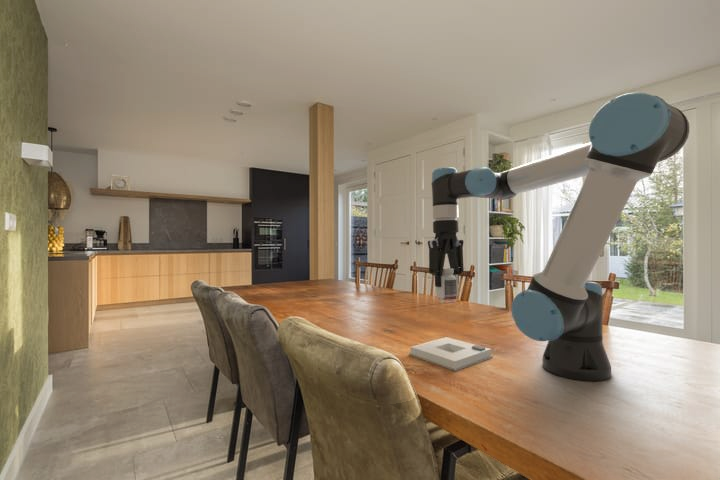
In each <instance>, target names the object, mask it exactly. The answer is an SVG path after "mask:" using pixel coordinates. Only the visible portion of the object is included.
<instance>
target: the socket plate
mask: <svg viewBox="0 0 720 480" xmlns="http://www.w3.org/2000/svg"><path fill="white" fill-rule="evenodd" d="M408 355H409V356H411V357H414V358H416V359H420V360H422V361H425V362H428V363H431V364H434V365H437V366H439V367H442V368H445V369H449V370H451V371H454V372H456V371H460V370H463V369H465V368H468V367H470V366H474V365H476V364H478V363H481V362H484V361H487V360H489V359H492V358H493V355H492V348H489V347H485V346H481V345H479V344H473V343H470V342H466V341H462V340H459V339H456V338H451V337H448V336H445V337H442V338H437V339H433V340H430V341H427V342H424V343H423V342H422V343H419V344H416V345H413V346H412V345H411V346H410V353H409V354H408Z"/></svg>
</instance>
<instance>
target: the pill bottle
mask: <svg viewBox="0 0 720 480" xmlns="http://www.w3.org/2000/svg"><path fill="white" fill-rule="evenodd" d="M453 272H454V270H453V268H450V267H448V268H446V267H445V268H444V267H443V273H442V276H444V280H445V298H437V299H438V302H441V303H442V302H443V303H453V302H457V297H458V296H456V277H455V276H453Z"/></svg>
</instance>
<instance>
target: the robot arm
mask: <svg viewBox="0 0 720 480" xmlns="http://www.w3.org/2000/svg"><path fill="white" fill-rule="evenodd" d="M588 127H589V129H588V137H589V141H590V142H588V143H587V142H586V143H584V144H581V145H578V146H576V147H572V148H570V149H566V150H563V151H560V152H558V153H555V154H554V153H553V154H552V155H548V156H546V157H543V158H539V159H537V160H534V161H531V162H527V163H524V164H522V165H519V166H517V167H516V166H515V167H513V168H510V169H507V170H505V171H502V172H494V171H493V170H492V169H491V168H490V167H485V166H483V167H475V168H473V169H469V170H464V171H459V172H458V170H457V168H455V167H452V166H451V167H440V168H436V169H434V170H433V171H432V175H431V192H432V195H431V196H432V219H433V220H434V221H433V222H432V229H433V230H432V232H433V233H434V234H435V235H434V239H432V240H428V241H427V246H428V262H429V263H428V273H429V274H430V275H431V276H434V286H435V291H436V293H435V297H436V298H437V299H438V298H445V280H444V276H442V273H443V268H444V267H445V261H446V260H445V259H446V255H447V260H448V263H449V268H453V270H454V272H453V276H455V277H456V297H459V284H460V281H459V280H460V278H459V277H460V275H462V274H463V272H464V270H465V267H464V251H463V250H464V249H463V248H464V240H463V239H459V238H458V237H457V234H458V233H459V228H460V226H459V221H458V220H457V219H459V199H465V198H484V199H493V200H500V201H501V200H503V201H504V200H510V199H514V198H515V197H516V196H517V195H520V194H522V193H526V192H530V191H531V192H532V191H534V190H538V189H542V188H544V187H549V186H552V185H557V184H560V183H565V182H567V181H571V180H575V179H579V178H582V177H585V179H584V182H583V183H582V185H581V188H580V191H579V193H578V194H577V196H576V199H575V201H574V203H573V206H572V207H571V210H570V212H569V214H568V216H567V219H566V220H565V223H564V224H563V227H562V229H561V232H560V234H559V235H558V238H557V241H556V243H555V245H554V247H553V249H552V251H551V252H550V253H551V254H550V256H549V258H548V260H547V262H546V263H545V265H544V269H543V270H541V271H538V272H535V273H534V274H533V276H532V279H531V280H530V282H529V284H528V286H527V289H525V290H522V291H520V292H519V293H517V294H516V295H515V297H514V298H513V300H512V303H511V309H510V311H511V316H512V319H513V320H514V324H515V326H516V328H518V330H519V332H521V334H523V335H525V336H526V337H527V338H529V339H531V340H533V341H537V342H547V343H546V347H545V348H544V352H543V354H542V359H541V360H542V367H543V368H544V369H545V370H546V371H548V372H550V373H551V374H553V375H554V374H555V375H556V376H559V377H563V378H567V379H572V380H579V381H584V382H585V381H586V382H587V381H589V382H599V381H606V380H609V379H611V378H612V365H611V362H610V360H609V357H608V354H607V351H606V349H605V345H604V343H603V342H604V341H603V340H604V339H603V333H604V331H603V330H604V329H603V328H604V327H603V325H604V323H603V322H604V321H603V320H604V318H603V317H604V316H603V312H604V311H603V309H604V308H603V304H604V303H603V302H604V301H603V300H604V295H603V287H602V285H601V284H600V283H599V282H595V281H588V280H589V277H591V273H592V271H593V270H594V268H595V266H596V264H597V263H598V262H597V261H598V260H599V258H600V257H601V254H602V252H603V250H604V249H605V246H606V244H607V242H608V241H609V239H610V236H611V234H612V232H613V231H614V229H615V226H616V224H617V222H618V221H619V218H620V216H621V215H622V213H623V211H624V208H625V207H626V205H627V203H628V202H629V201H628V200H629V199H630V197H631V196H632V193H633V192H634V189H635V187H636V185H637V183H639V181H642V180H644V179H646V178H649V177H650V176H651V175H652V174H653V172H654V170H655V168H656V166H657V165H658V163H660V162H663V161H666V160H668V159H670V158H671V157H673V156H674V155H676V154H677V153H678V152H680V151H681V149H683V147H684V146H685V144H686V142H687V141H688V139H689V136H690V122H689V119H688V117H687V116H686V115H685V113H684V112H682V111H681V110H680V109H679V108H677V107H675V106H672V105H671V104H669V103H667V102H666V101H665V99H663V98H661V97H660V96H658V95H653V94H650V93H646V92H639V91H638V92H637V91H636V92H628V93H624V94H621V95H618V96H616V97H614V98H613V99H611V100H609V101H607V102H605V104H603V105H602V106H601V107H600V108H599V109H598V110H597V111H596V113H595V114H594V115H593V117H592V119H591V122H590V123H589V126H588Z"/></svg>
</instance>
